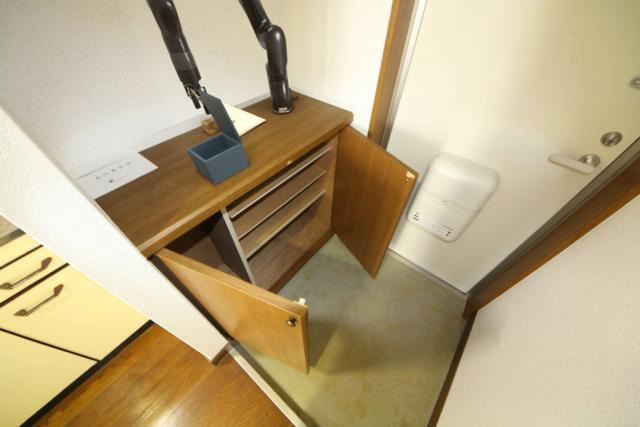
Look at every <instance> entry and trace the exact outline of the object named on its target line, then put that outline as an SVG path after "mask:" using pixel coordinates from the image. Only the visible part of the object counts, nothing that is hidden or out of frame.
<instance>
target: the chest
mask: <svg viewBox="0 0 640 427" xmlns="http://www.w3.org/2000/svg"><path fill="white" fill-rule="evenodd" d="M185 150H186V151H187V153H188V155H189V157H190V159H191V160H192V162H193V165H194V166H195V168H196V170H197V172H199V173H200V174H201V175H203V176H204V177H205V178H207V179H208V180H209V181H210V182H212V183H213V184H214V185H216V186H217V185H218V184H219V183H221V182H223V181H225V180H227V179H228V178H230V177H231V176H232V177H233V175H235V174H237V173H238V172H240V171H242V170H244V169H246V168H248V167H249V166H250V164H249V160H248V158H247V155H246V151H245V148H244V146H243V142H242V143H240V142H238V141H236V140H235V139H233V138H231V137H229V136H228V135H226V134H224V133H222V132H221V133H219V134H217V135H214V136H211V137H210V138H208V139H205V140H203V141H201V142H199V143H197V144H194V145H192V146H189V147H187V148H186V149H185Z"/></svg>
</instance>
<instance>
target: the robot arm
mask: <svg viewBox="0 0 640 427" xmlns="http://www.w3.org/2000/svg"><path fill="white" fill-rule="evenodd" d="M237 1H238V3H239V5H240V7H241V8H242V10H243V12H244V13H245V16H246V17H247V19H248V22H249V24H250V26H251V28H252V30H253V33H254V36H255V38H256V40H257V42H258V44H259V46H260V47H261V48H262V49H263V50H265V51H266V58H267V62H266V63H265V64H264V65H265V66H264V67H265V73H266V78H267V83H268V88H269V89H268V90H269V95H270V101H271V107H272V112H273V113H274V114H278V115H284V114H288V113H290V112H291V111H292V110H293V109H294V105H293V104H294V101H295V100H297V99H298V98H299V96H298V95H296V96H295V97H294V96H293V95H292V89H291V87H290V84H289V77H288V76H289V75H288V60H289V59H288V47H287V39H286V34H285V31H284V29H283V28H282V27H281V26H279V25H278V24H274V23H272V22H271V20H270V18H269V16H268V14H267V13H266V10H265V9H264V6H263V4H262V0H237ZM145 3H146V5H147V7H148V8H149V10H150V11H151V13H152V16H153V17H154V20H155V22H156V24H157V27H158V29H159V31H160V36H161V38H162V41H163V43H164V45H165V47H166V50H167V52H168V55H169V58H170V61H171V63H172V65H173V68H174V70H175V72H176V75H177V77H178V80H179V81H180V82H181V84H182V86H183V88H184V91H185V94H186V96H187V97H189V99H190V100H191V101H192V104H193V106H194V108H195V110H200V109H201V108H203V111H204V112H205V114H206V116H209V115H211V113H210V112H209V110H208V108H207V107H206V105H205V103H204V101H203V100H202V98H201V96H200V95H199V93H198V90H201V91H203V92H206V93H208V91H207V88H206V87H205V86H203V85H202V86H201V84H200V81H201V80H202V76H201V72H200V70H199V67H198V65H197V62H196V59H195V56H194V54H193V52H192V50H191V48H190V45H189V43H188V40H187V37H186V35H185V32H184V31H183V27H182V23H181V20H180V16H179V13H178V10H177V8H176V4H175V2H174V0H145ZM201 105H202V106H201Z"/></svg>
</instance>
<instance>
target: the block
mask: <svg viewBox="0 0 640 427" xmlns="http://www.w3.org/2000/svg"><path fill="white" fill-rule="evenodd" d="M200 123H201V125H202V127H203V130H204V132H206V133H207V134H209V135H214V134H215V133H217V132H221V130H220V129H219V127H218V125H217V124H216V122H215V120H214V118H213V117H207V118H205V119H202V120H201V121H200Z"/></svg>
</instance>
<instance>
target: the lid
mask: <svg viewBox="0 0 640 427" xmlns="http://www.w3.org/2000/svg"><path fill="white" fill-rule="evenodd" d="M198 93H199V95H200V96H201V98H202V100H203V101H204V103H205V105H206V107H207V108H208V110H209V112H210V113H211V114H210V115H211V118H212V119H214V120H215V122H216V124H217V125H218V127H219V130H220V132H221V133H224V134H226V135H228V136H229V137H231V138H233V139H235V140H236V141H238V142H240V143H242V144H243V140H242V138H241V136H239V134H238V132H237V130H236V128H235V126H234V124H233V122H232V120H231V119H230V117H229V115H228V113H227V111H226V109H225V107H224V105H223V103H224V102H223V101H222V99H220V98H219V97H216V96H214V95H212V94H211V93H208V92H207V93H206V92H203V91H201V90H198ZM222 102H223V103H222Z"/></svg>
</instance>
